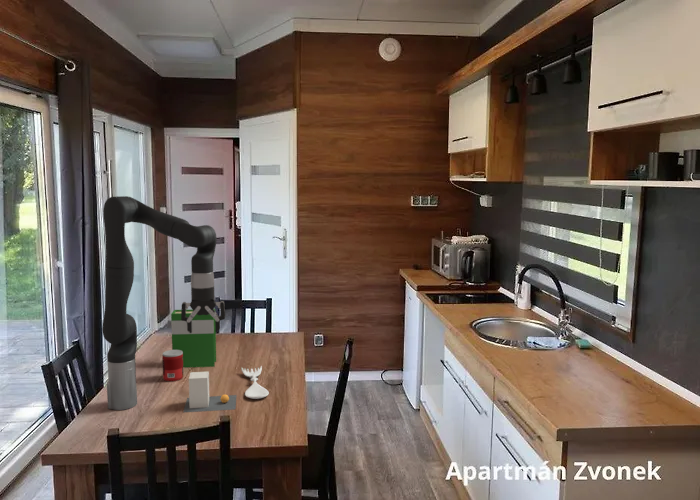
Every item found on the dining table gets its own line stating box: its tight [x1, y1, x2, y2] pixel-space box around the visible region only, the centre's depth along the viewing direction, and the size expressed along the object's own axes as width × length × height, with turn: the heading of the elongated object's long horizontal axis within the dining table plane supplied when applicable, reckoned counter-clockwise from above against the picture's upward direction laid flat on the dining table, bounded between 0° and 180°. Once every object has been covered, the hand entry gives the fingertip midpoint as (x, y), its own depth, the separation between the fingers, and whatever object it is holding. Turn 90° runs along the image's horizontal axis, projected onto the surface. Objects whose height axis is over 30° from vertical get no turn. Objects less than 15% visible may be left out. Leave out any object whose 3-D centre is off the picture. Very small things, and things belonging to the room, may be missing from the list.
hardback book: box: [170, 308, 217, 369], centre depth 239 cm, size 18×7×24 cm, turn 98°
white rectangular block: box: [188, 371, 210, 408], centre depth 197 cm, size 6×6×11 cm
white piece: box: [241, 365, 270, 400], centre depth 216 cm, size 9×32×4 cm, turn 15°
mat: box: [182, 394, 237, 414], centre depth 199 cm, size 18×13×3 cm
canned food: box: [161, 349, 184, 382], centre depth 223 cm, size 8×8×11 cm
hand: (203, 332), depth 185 cm, fingers open, 8 cm apart
